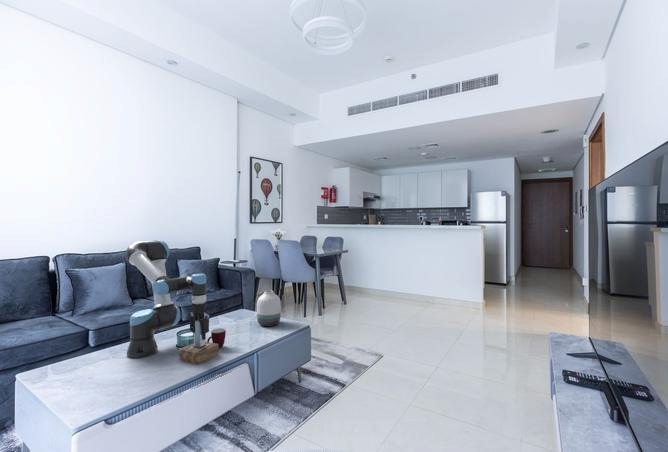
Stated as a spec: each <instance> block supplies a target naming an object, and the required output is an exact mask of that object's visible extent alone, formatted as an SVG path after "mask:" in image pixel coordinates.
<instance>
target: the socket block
mask: <svg viewBox="0 0 668 452" xmlns="http://www.w3.org/2000/svg"><path fill="white" fill-rule="evenodd" d="M219 351H220V348H219V344H216V343H212V341H211V342H210V341H209V342H207V341H205V345H203V347H202V348H200V349H197V348H195V345H194V342H193V343H191V344H189V345H186V346H183V347H181V348H180V349H179V361H181V362H186V363H190V364H193V365H194V364H195V365H198V366H200V365H201V364H203V363H206V362H207V361H209V360H211V359H213V358H215V357H217V356H218V355H219Z"/></svg>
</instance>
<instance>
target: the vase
mask: <svg viewBox="0 0 668 452" xmlns="http://www.w3.org/2000/svg"><path fill="white" fill-rule="evenodd" d="M281 302H282V301H281V298H280V296H279V295H277V294H276V293H275V292H274V290H264V293H263V294H261V295H260V296H259V297H258V298H257V301H256V319H257V320H256V321H257V323H258V324H259V325H260V326H263V327H272V326H276V325H278V324H279V323H280V321H281V316H282V315H281V313H282V310H281V304H282V303H281Z"/></svg>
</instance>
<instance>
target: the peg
mask: <svg viewBox="0 0 668 452" xmlns="http://www.w3.org/2000/svg"><path fill="white" fill-rule="evenodd" d="M201 320H202V319H201ZM200 334H201V328H200V322H199V320H196V321H195V348H197V349H200V348H202V347H203V346H200Z"/></svg>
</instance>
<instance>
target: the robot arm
mask: <svg viewBox="0 0 668 452" xmlns="http://www.w3.org/2000/svg"><path fill="white" fill-rule="evenodd" d="M169 256H170V247H169V245H168V244H167V243H166V242H165V241H164V240H158V239H155V240H145V241H143V240H142V241H135V242H133V243H131V244H130V245H129V246H128V247H127V249H126V250H125V258H126V260H127V262H128V263H129V264H130V265H132V266H135V267H136V268H137V270H139V272H140V273H142V275H143V276H145V278H146V279H147V280H148V281H149V282H150V283H151V287H152V293H153V301H154V306H153V307H152V308H151V309H150V308H148V309H147V308H146V309H142V310H138V311H136V312H134V313H133V314H132V315H131V316H130V319H129V338H130V339H129V345H128V347H127V350H126V356H127V357H128V359H129V358H131V359H139V358H146V357H149V356H151V355H154V354H156V353H157V352H158V344H157V341H156V339H155V332H157V331H162V330H164V329H169V328H171V327H174V326H176V325H177V324H178V323H179V321H180V319H181V310H180V308H179V307H178V305H175V303H174V302H173V301H172V300H171V295H170V294H173V293H179V292H183V291H191V312H189V313H188V317H189V332H192V338H193V343H194V345H195V321H196V320H199V322H200V328H201V334H200V346H203V345H205V342H206V336H207V333H209V332H210V317H211V315H210V314H207V312H206V309H207V276H206V273H194V274H192V275H191V276H189V275H181V276H179V277H176V278H175V277H174V278H169V277H168V276H167V272H166V265H165V264H166V261H167V259H168V257H169ZM201 319H202V320H201ZM127 357H126V358H127Z"/></svg>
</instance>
